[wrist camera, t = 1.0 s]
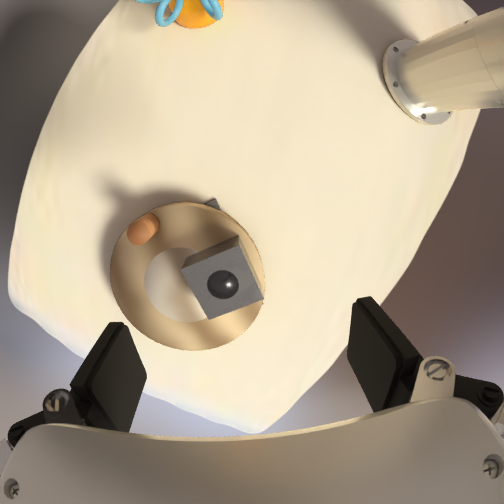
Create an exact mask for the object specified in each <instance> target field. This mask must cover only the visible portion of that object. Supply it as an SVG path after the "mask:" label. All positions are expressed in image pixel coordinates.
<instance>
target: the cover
mask: <svg viewBox="0 0 504 504" xmlns="http://www.w3.org/2000/svg"><path fill="white" fill-rule="evenodd" d="M181 271H182V273H183V275H184V277H185V279H186V281H187V282H188V284H189V286H190V288H191V290H192V292H193V293H194V295H195V297H196V299H197V300H198V302H199V304H200V306H201V308H202V309H203V311H204V313H205V314H206V316H207V318H208V320H210V319H213V318H216V317H218V316H221V315H224V314H227V313H229V312H232V311H235V310H237V309H240V308H243V307H245V306H248V305H250V304H253V303H255V302H258V301H261V300H263V299H264V296H263V292H262V287H261V283H260V281H259V279H258V276H257V274H256V272H255V270H254V267H253V265H252V263H251V261H250V258H249V256H248V254H247V252H246V249H245V247H244V245H243V243H242V240H241V238H240V236H239V235H237V236H235V237H232V238H230V239H228V240H225V241H223V242H221V243H218V244H216V245H214V246H211V247H209V248H207V249H204V250H202V251H200V252H197V253H195V254H193V255H190V256H188V257H186V259H185V262H184V264H183V266H182V268H181Z"/></svg>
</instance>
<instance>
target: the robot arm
mask: <svg viewBox="0 0 504 504" xmlns="http://www.w3.org/2000/svg"><path fill="white" fill-rule="evenodd" d="M383 74H384V78H385V81H386V84H387V87H388V89H389V91H390V93H391V95H392V97H393V98H394V100H395V101H396V102H397V104H398V105H399V106H400V107H401V109H402V110H403V111H404V112H405V113H406V114H408V115H409V116H410V117H411V118H413V119H414V120H416V121H418V122H420V123H423V124H427V125H438V124H442V123H444V122H445V121H447V120H448V119H449V118H450V117H451V115H452V113H453V111H459V110H469V109H481V108H497V107H504V7H501V8H499V9H496V10H494V11H491V12H488V13H486V14H483V15H480V16H478V17H475V18H473V19H470V20H468V21H465V22H463V23H461V24H458V25H456V26H454V27H451V28H449V29H447V30H445V31H442V32H440V33H438V34H436V35H434V36H432V37H430V38H428V39H426V40H424V41H422V42H420V43H419V42H417V41H414V40H408V39H404V40H399V41H397V42H394V43H393V44H392V45H390V46H389V47H388V48H387V50H386V51H385V54H384V56H383ZM347 357H348V361H349V363H350V365H351V367H352V369H353V371H354V373H355V375H356V377H357V379H358V381H359V383H360V385H361V387H362V389H363V391H364V393H365V395H366V397H367V399H368V402H369V404H370V406H371V408H372V409H373V412H374V413H372V414H368V415H365V416H360V417H357V418H353V419H348V420H344V421H340V422H336V423H331V424H327V425H321V426H316V427H311V428H305V429H299V430H293V431H286V432H278V433H271V434H261V435H249V436H233V437H172V436H156V435H144V434H136V433H129V431H130V428H131V424H132V421H133V418H134V415H135V411H136V409H137V406H138V403H139V400H140V397H141V394H142V391H143V388H144V385H145V382H146V379H147V374H146V370H145V368H144V366H143V364H142V361H141V359H140V356H139V354H138V352H137V349H136V347H135V344H134V341H133V339H132V336H131V334H130V331H129V328H128V326H126V325H124V323H123V322H110V323H109V324H108V325H107V327H106V328H105V330H104V331H103V333H102V334H101V336H100V337H99V339H98V340H97V342H96V343H95V345H94V346H93V348H92V349H91V351H90V352H89V354H88V355H87V357H86V359H85V360H84V362H83V363H82V365H81V367H80V368H79V370H78V372H77V373H76V375H75V376H74V378H73V380H72V381H71V383H70V386H71V388H72V389H71V391H68V390H66V389H56V390H53V391H52V392H50V393H49V394H48V395H47V396H46V397H45V398H44V401H43V411H41V412H39V413H37V414H34V415H32V416H30V417H28V418H26V419H24V420H21V421H19V422H17V423H15V424H13V425H12V426H11V428H10V430H9V432H8V440H6V439H5V438H4V439H3V440H2V441H1V442H0V504H504V394H503V392H502V390H501V388H500V387H499V386H498V385H496V384H495V383H492V382H487V381H483V380H478V379H473V378H469V377H464V376H460V375H456V372H455V367H454V365H453V364H452V363H451V362H450V361H449V360H448V359H446V358H443V357H440V356H432V357H428V358H426V359H423V357H422V356H421V355H420V354H419V352H418V351H417V350H416V349H415V347H414V346H413V345H412V344H411V342H410V341H409V340H408V339H407V338H406V336H405V335H404V334H403V333H402V332H401V330H400V329H399V328H398V327H397V326H396V325H395V323H394V322H393V321H392V320H391V319H390V318H389V316H388V315H387V314H386V313H385V312H384V311H383V309H382V308H381V307H380V306H379V305H378V304H377V303H376V301H375V300H374V299H373V298H372V297H371V296H368V297H363V298H358V299H357V300H356V302H355V303H353V305H352V315H351V325H350V334H349V342H348V350H347Z"/></svg>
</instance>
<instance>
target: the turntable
mask: <svg viewBox="0 0 504 504" xmlns="http://www.w3.org/2000/svg"><path fill="white" fill-rule="evenodd" d="M237 235H239V236H240V238H241V240H242V243H243V245H244V247H245V249H246V252H247V254H248V256H249V258H250V261H251V263H252V265H253V267H254V270H255V272H256V274H257V276H258V279H259V281H260V283H261V287H262V292H263V296H264V292H265V276H264V271H263V266H262V262H261V258H260V255H259V253H258V250H257V248H256V246H255V244H254V242H253V240H252V239H251V237H250V236H249V234H248V233H247V232H246V231H245V229H244V228H243V227H242V226H241V225H240V224H239V223H238V222H236V221H235V220H234V219H233V218H231V217H230V216H228V215H227V214H225V213H223V212H222V211H219V210H217V209H215V208H213V207H210V206H207V205H203V204H198V203H192V202H179V203H171V204H167V205H163V206H160V207H157V208H155V209H153V210H151V211H149V212H148V213H146V214H144V215H143V216H141V217H139V218H138V219H136V220H135V221H134V222H133V223H132V224H130V225H129V226H128V227H127V229H126V230H125V231H124V232H123V233H122V235H121V236H120V238H119V240H118V241H117V243H116V246H115V248H114V250H113V254H112V258H111V264H110V280H111V287H112V290H113V294H114V297H115V299H116V301H117V304H118V306H119V307H120V309H121V311H122V312H123V314H124V315H125V317H126V318H127V319H128V320H129V322H130V323H131V324H132V325H133V326H134V327H135V328H136V329H138V330H139V331H140V332H141V333H143V334H144V335H145V336H147V337H148V338H150V339H152V340H154V341H155V342H158V343H160V344H162V345H165V346H168V347H171V348H175V349H180V350H189V351H198V350H207V349H212V348H216V347H219V346H222V345H225V344H227V343H229V342H231V341H232V340H234V339H236V338H237V337H239V336H240V335H241V334H242V333H244V332H245V331H246V330H247V329H248V328H249V326H250V325H251V324H252V323H253V321H254V320H255V318H256V317H257V315H258V313H259V311H260V308H261V306H262V302H263V300H261V301H258V302H255V303H253V304H250V305H248V306H245V307H243V308H240V309H237V310H235V311H232V312H229V313H227V314H224V315H221V316H218V317H216V318H213V319H210V320H208V318H207V316H206V314H205V313H204V311H203V309H202V308H201V306H200V304H199V302H198V300H197V299H196V297H195V295H194V293H193V292H192V290H191V288H190V286H189V284H188V282H187V281H186V279H185V277H184V275H183V273H182V271H181V268H182V266H183V264H184V262H185V259H186V257H188V256H190V255H193V254H195V253H197V252H200V251H202V250H204V249H207V248H209V247H211V246H214V245H216V244H218V243H221V242H223V241H225V240H228V239H230V238H232V237H235V236H237Z"/></svg>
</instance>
